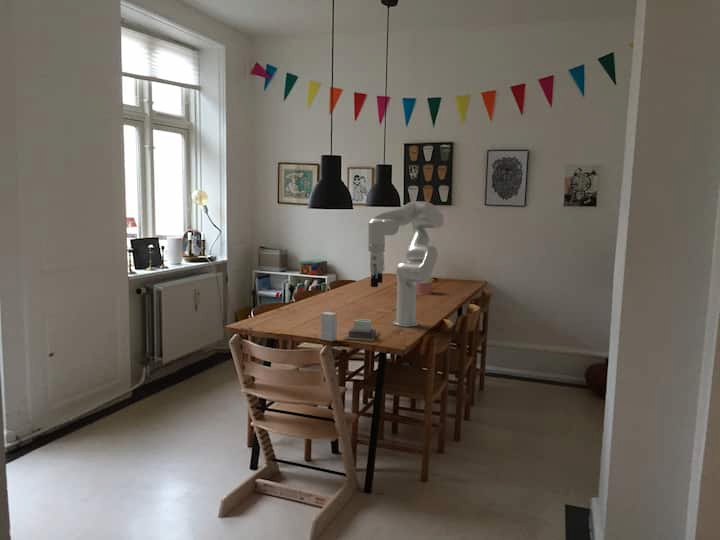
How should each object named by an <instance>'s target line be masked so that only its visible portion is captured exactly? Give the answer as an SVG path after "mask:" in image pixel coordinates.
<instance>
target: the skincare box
mask: <svg viewBox="0 0 720 540" xmlns="http://www.w3.org/2000/svg"><path fill="white" fill-rule="evenodd" d="M320 314H321V315H320V316H321V317H320V340H322V341H327V342H333V341H336V340H338V338H337V337H338V313H336V312H330V311H324V312H321V313H320Z"/></svg>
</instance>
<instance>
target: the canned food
mask: <svg viewBox="0 0 720 540" xmlns="http://www.w3.org/2000/svg"><path fill="white" fill-rule="evenodd" d="M432 282H433V274H431V276H430V278H429V280H428V281H427V282H425V283H420V282H414V285H415V287H416V293H417V294H416V295H424V294H427V295H432V289H433V288H432V286H433V283H432Z"/></svg>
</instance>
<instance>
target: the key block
mask: <svg viewBox="0 0 720 540" xmlns="http://www.w3.org/2000/svg"><path fill="white" fill-rule="evenodd" d="M353 327H354V331H358V332H371V329H372V319H365V318H363V319H362V318H355V320H353Z"/></svg>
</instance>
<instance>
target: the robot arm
mask: <svg viewBox="0 0 720 540" xmlns="http://www.w3.org/2000/svg"><path fill="white" fill-rule="evenodd" d="M444 220H445V219H444V215H443V213H442V211H440V210H439V209H438V208H437V207H436V205H434V204H433V203H431V202H429V201H418V200H417V201H416V200H414V201H409V202H408V203H406V204H405V205H402V206H401V207H399V208H397V209H394V210H390V211H386V212H383V213H380V214H378V215H375V216H374V217H372V218H371V219H370V220H369V222H368V229H367V230H368V232H367V233H368V235H367V236H368V237H367V238H368V250H367V251H368V252H370V256H369V257H370V258H369V259H370V260H369V263H370V264H369V272H370V287H371V288H378V287H379V284H382V283H383V272H384V271H385V252H386V236H389V237H390V236H394V235H396V234H397V233H398V232H399V229H400V227H404V226H406V225H408V224H411V226H412V230H413V235H412V238H411V242H410V244H409V246H408V248H407V251H406V255H405V258H406V260H407V261H401V262H399V263H398V264H397V265H396V268H395V274H396V281H397V282H396V283H397V284H396V285H397V291H396V293H397V294H396V295H397V296H396V317H395V318H396V319H395V320H392V321H393V322H392V323H393V325H395V326H397V327H398V326H399V327H404V328H405V327H406V328H408V327H411V326H412V327H417V326H418V325H419V322H418V321H417V320H416V309H417V307H416V304H417V294H416V287H415V282H420V283H425V282H427V281H428V280H429V278H430V276H431V275H433V271H434V269H435V266H436V264H437V260H438V256H439V255H438V254H439V252H438V249H437V248H436V247H435V246H434V245H429V243H430V236H429V234H428V232H427V230H426V229H440V228H441V227H442V226H443V225H444V223H445V221H444Z"/></svg>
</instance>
